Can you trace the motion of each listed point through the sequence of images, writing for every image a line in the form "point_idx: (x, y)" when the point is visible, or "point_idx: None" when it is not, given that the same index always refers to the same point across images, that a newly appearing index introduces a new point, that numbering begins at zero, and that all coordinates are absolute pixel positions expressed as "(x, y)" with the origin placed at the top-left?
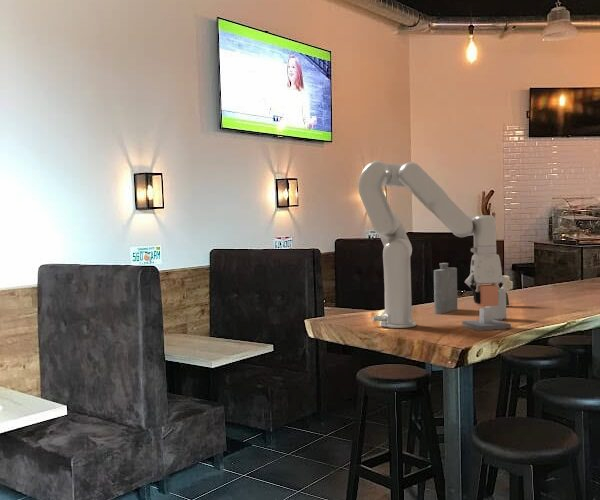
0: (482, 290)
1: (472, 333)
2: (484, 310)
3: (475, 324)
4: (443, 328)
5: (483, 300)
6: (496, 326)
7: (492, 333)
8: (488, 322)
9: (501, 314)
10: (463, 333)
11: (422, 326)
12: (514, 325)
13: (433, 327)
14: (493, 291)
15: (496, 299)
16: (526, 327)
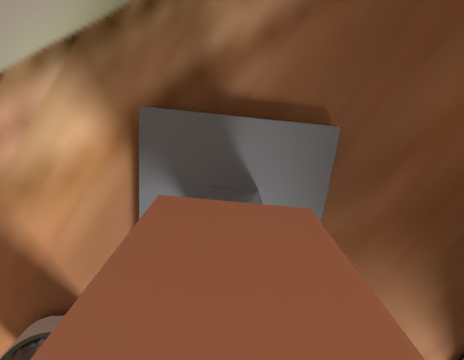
0: (391, 322)
1: (414, 72)
2: None
3: (315, 187)
4: (422, 254)
5: (318, 233)
6: (231, 116)
7: (326, 17)
8: (232, 189)
9: (50, 331)
10: (450, 95)
11: (455, 329)
12: (79, 177)
13: (438, 292)
14: (182, 283)
15: (162, 220)
16: (51, 97)
